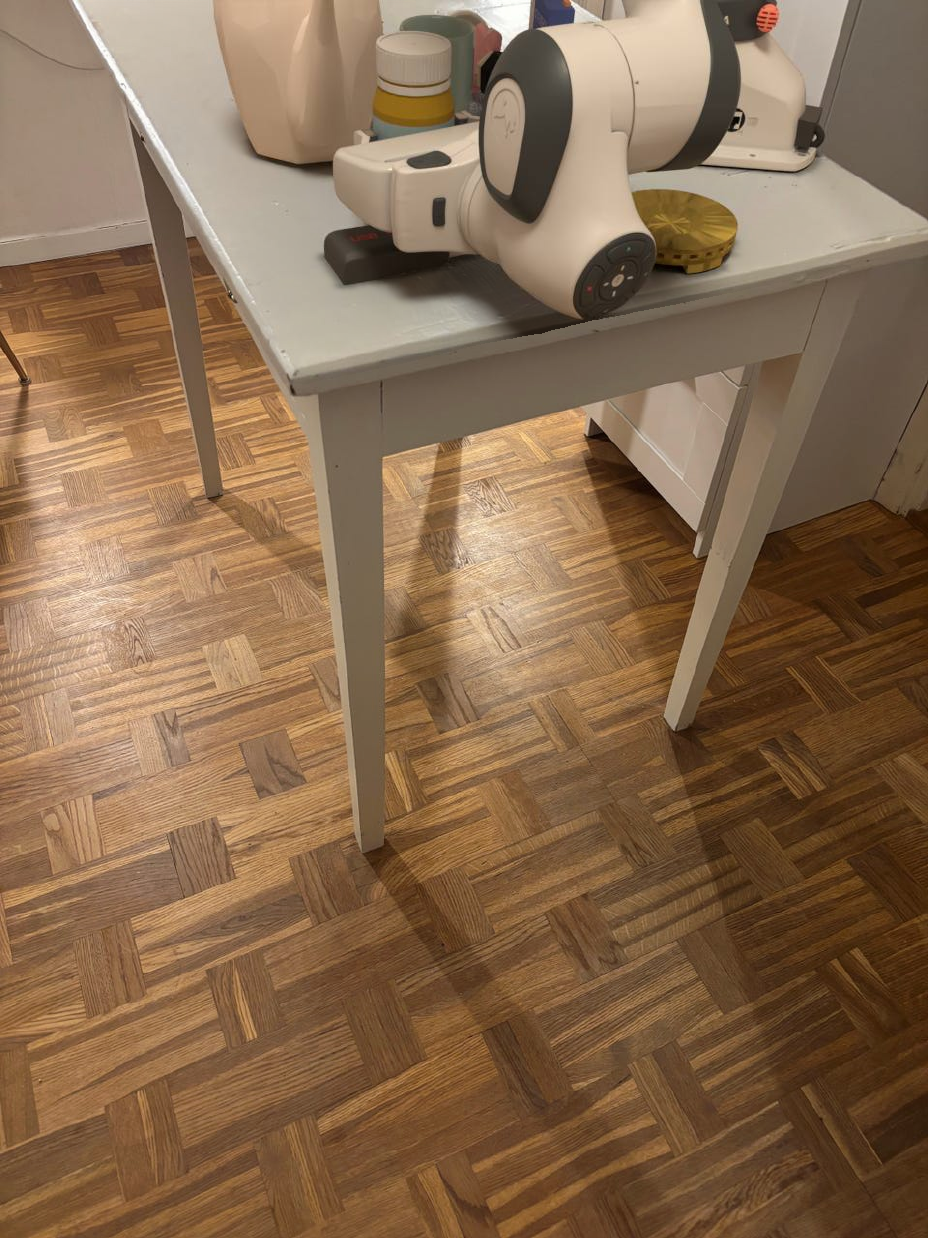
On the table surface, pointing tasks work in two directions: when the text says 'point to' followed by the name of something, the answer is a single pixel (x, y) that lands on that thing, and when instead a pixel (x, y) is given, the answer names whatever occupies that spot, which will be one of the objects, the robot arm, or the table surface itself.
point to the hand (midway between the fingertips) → (409, 129)
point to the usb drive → (375, 255)
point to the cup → (452, 51)
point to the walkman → (550, 13)
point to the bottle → (412, 84)
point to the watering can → (301, 72)
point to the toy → (482, 48)
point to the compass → (686, 228)
